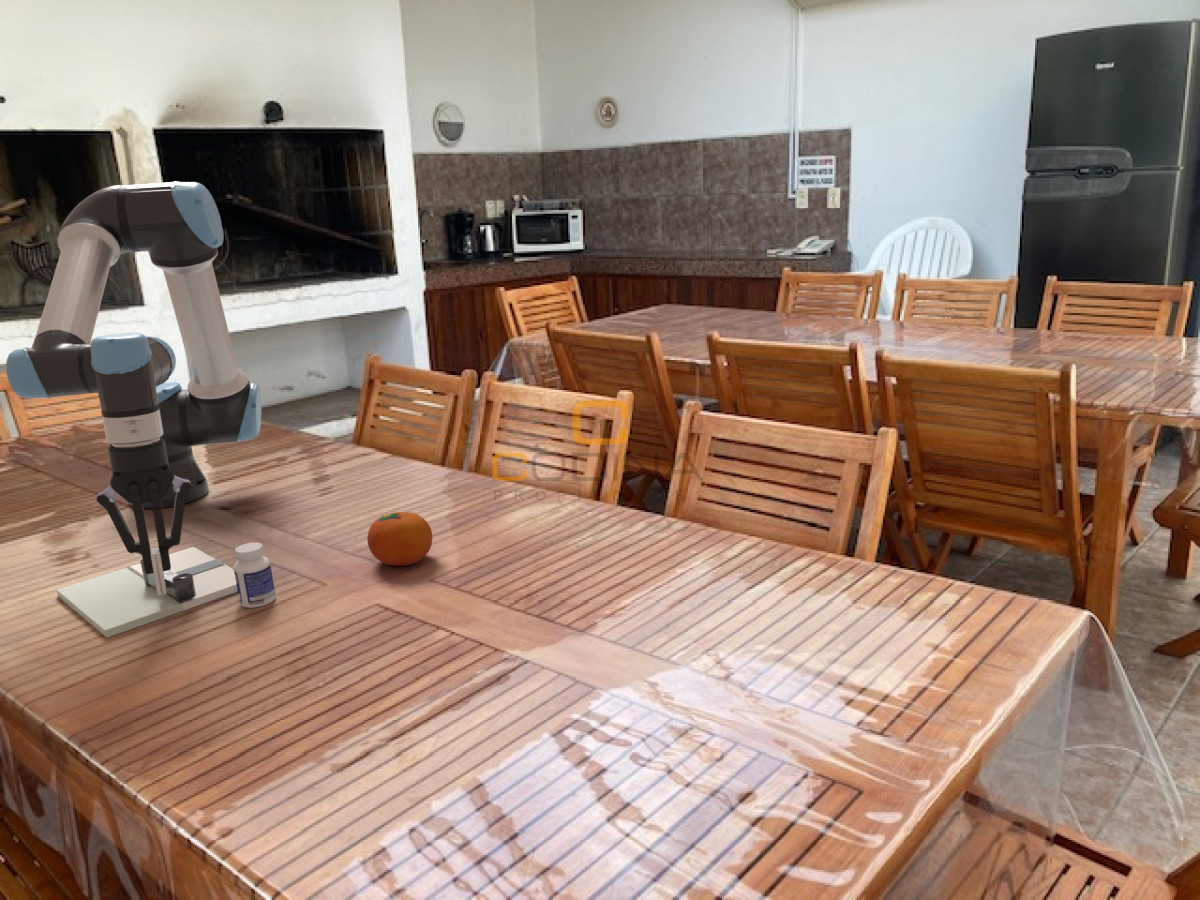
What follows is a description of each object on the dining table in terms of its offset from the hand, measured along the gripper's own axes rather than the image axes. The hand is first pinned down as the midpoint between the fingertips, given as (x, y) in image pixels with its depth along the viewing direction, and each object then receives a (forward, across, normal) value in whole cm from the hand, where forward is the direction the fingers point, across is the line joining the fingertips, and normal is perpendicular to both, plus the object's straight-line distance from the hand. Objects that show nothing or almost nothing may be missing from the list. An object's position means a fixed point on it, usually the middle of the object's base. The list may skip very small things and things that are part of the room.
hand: (162, 591), depth 142 cm
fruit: (+2, +36, -2) cm, 36 cm away
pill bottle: (+3, +13, -5) cm, 14 cm away
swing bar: (+1, +1, +3) cm, 3 cm away
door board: (+3, -1, +8) cm, 8 cm away
